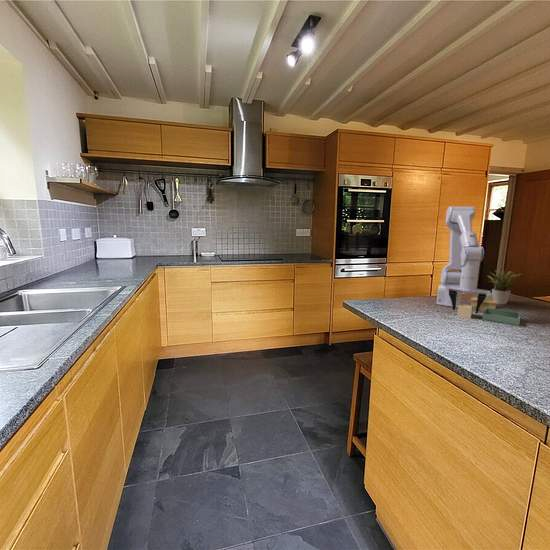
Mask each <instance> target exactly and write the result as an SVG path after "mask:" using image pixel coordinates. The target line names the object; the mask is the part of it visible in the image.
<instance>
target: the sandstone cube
mask: <svg viewBox="0 0 550 550" xmlns="http://www.w3.org/2000/svg"><path fill="white" fill-rule="evenodd" d="M472 310H473V305H471V304H468V303H462V302H461V303H460V304H459V305H458V307H457V312H456V313H457V315H456V316H457V317H459V316H461V317H460V318H465V317H467V318H466V319H471V318H472V317H473V316H472V315H473V311H472Z"/></svg>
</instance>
